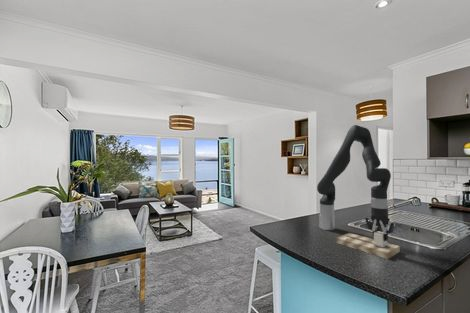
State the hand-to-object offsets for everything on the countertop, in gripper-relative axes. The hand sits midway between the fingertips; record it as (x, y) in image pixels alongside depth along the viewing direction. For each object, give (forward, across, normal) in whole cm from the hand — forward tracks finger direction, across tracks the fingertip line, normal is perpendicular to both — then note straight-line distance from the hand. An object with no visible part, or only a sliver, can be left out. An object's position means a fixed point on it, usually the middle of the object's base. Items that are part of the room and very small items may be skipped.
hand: (380, 239), depth 115 cm
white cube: (+3, 0, 0) cm, 3 cm away
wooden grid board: (+6, -7, 0) cm, 9 cm away
